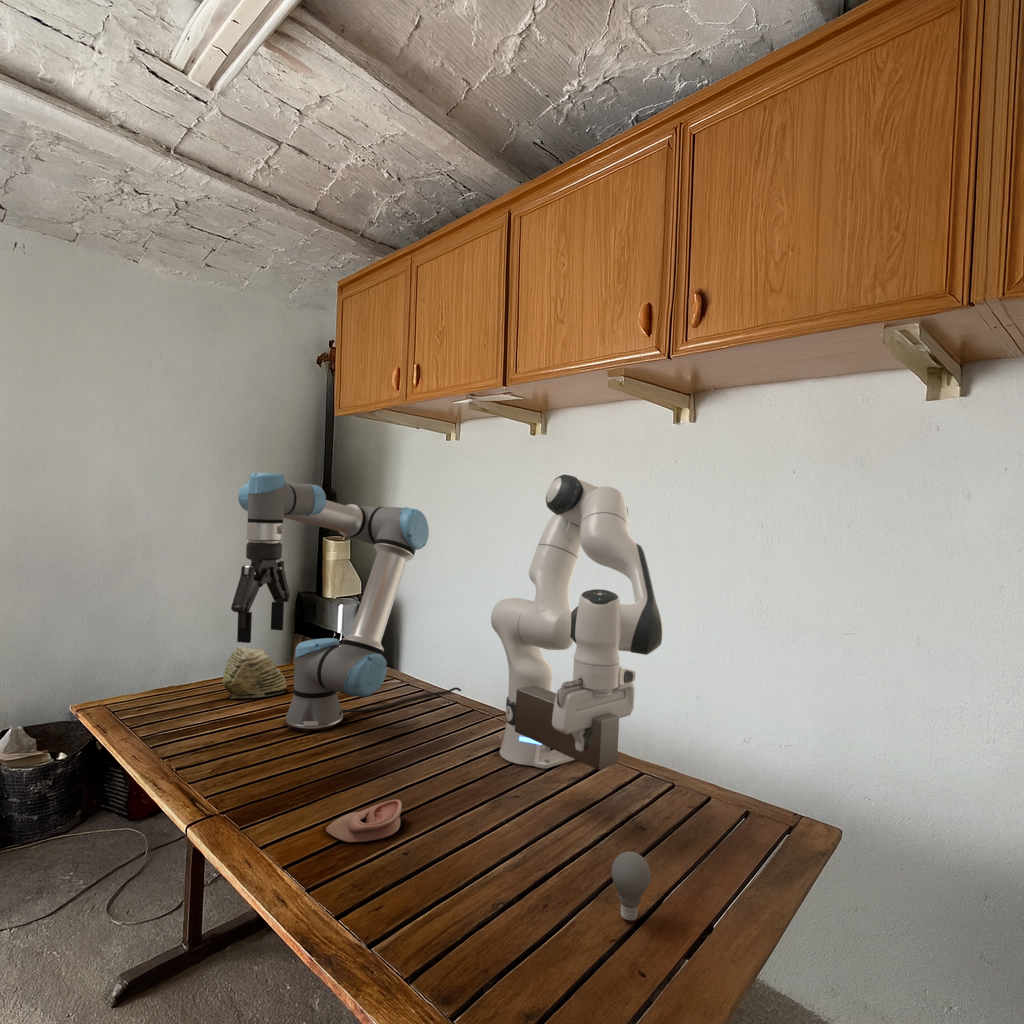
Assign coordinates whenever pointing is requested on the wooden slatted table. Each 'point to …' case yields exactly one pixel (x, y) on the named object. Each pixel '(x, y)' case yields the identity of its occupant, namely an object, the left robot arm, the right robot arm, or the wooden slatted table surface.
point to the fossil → (252, 674)
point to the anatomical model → (368, 823)
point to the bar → (537, 726)
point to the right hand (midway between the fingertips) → (592, 746)
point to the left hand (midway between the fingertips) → (261, 635)
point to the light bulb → (630, 881)
